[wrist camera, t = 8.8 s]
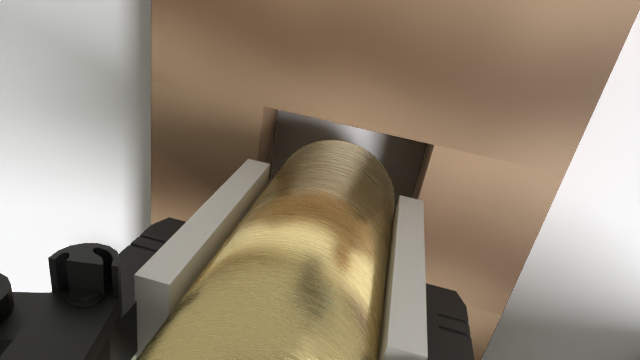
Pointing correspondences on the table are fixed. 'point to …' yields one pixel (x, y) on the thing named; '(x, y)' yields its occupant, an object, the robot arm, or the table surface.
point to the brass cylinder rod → (295, 268)
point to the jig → (393, 108)
